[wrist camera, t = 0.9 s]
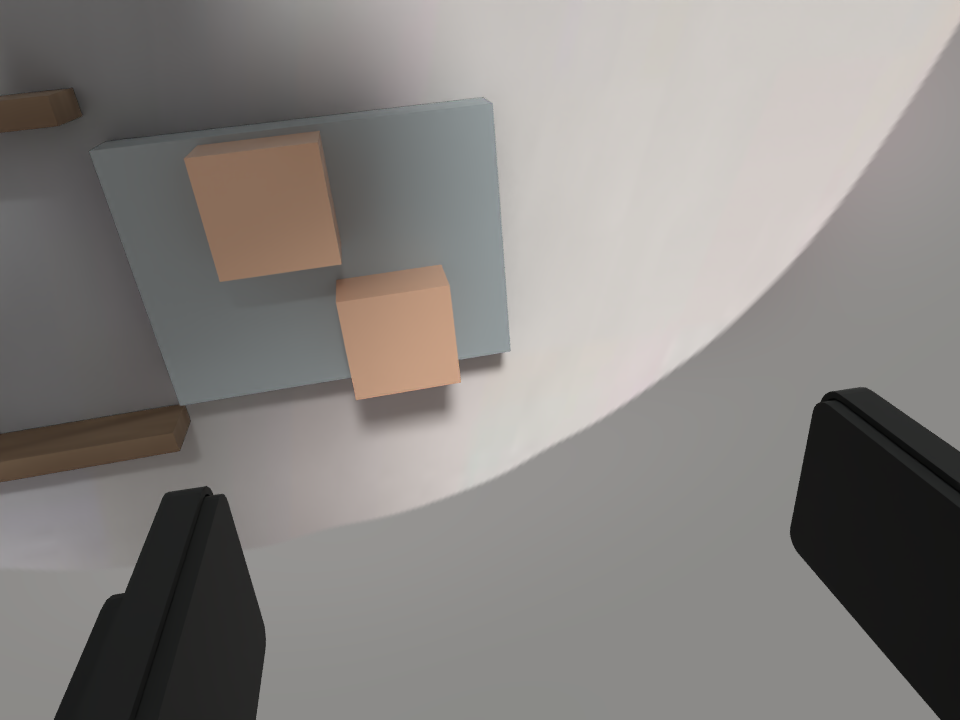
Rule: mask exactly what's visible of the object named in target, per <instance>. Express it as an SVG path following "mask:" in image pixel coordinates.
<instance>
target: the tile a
mask: <svg viewBox="0 0 960 720" xmlns="http://www.w3.org/2000/svg"><path fill="white" fill-rule="evenodd" d="M184 161H185V165H186V168H187V172H188V175H189V178H190V182H191V185H192V189H193V192H194V195H195V199H196V202H197V206H198V209H199V212H200V216H201V219H202V223H203V226H204V230H205V233H206V236H207V240H208V243H209V247H210V250H211V253H212V257H213V260H214V264H215V267H216V270H217V274H218V277H219V281H220V282H223V281H230V280H237V279H244V278H251V277H258V276H265V275H272V274H279V273H286V272H293V271H299V270H306V269H313V268H320V267H327V266H334V265H341V264H342V248H341V239H340V234H339V229H338V224H337V219H336V213H335V208H334V203H333V198H332V193H331V188H330V182H329V177H328V172H327V167H326V162H325V157H324V151H323V146H322V141H321V136H320V131H313V132H305V133H297V134H288V135H280V136H272V137H263V138H255V139H247V140H238V141H230V142H221V143H213V144H205V145H197V146H196V147H195V148H194V149H193V150H192V151H191V152H190V153H189V154H188V155H187V156H186V157H185V158H184Z"/></svg>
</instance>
